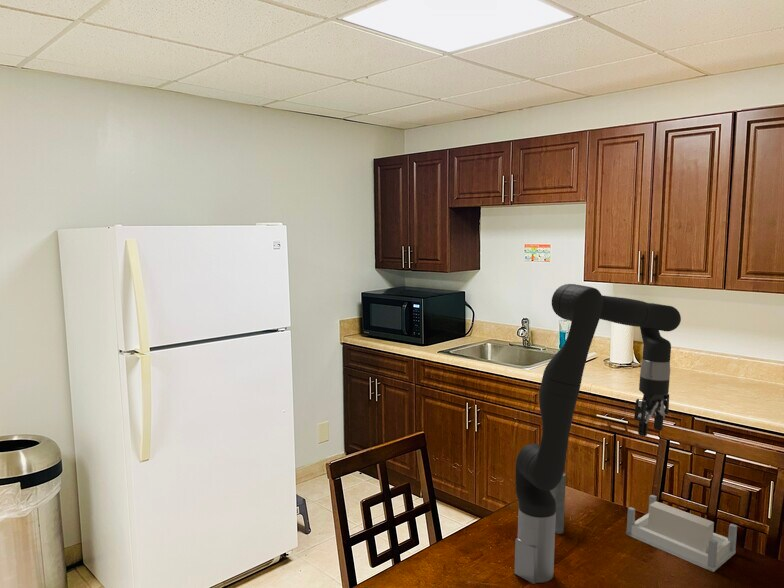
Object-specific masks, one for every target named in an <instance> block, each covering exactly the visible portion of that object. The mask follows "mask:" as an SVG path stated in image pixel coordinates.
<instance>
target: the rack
mask: <svg viewBox="0 0 784 588" xmlns="http://www.w3.org/2000/svg"><path fill="white" fill-rule="evenodd" d="M657 497H658V496H657V495H654V494H651V495H649V496H648V506H649V505H651V504H652V503H654V502H655V501H657ZM626 516H627V520H626V531H625V534H626V536H628V537H631V538H633V539H635V540H638V541H640V542H641V543H644V544H647V545H649V546H652V547H653V548H656V549H659V550H661V551H663V552H666V553H668V554H670V555H673V556H675V557H677V558H680V559H681V560H684V561H686V562H689V563H691V564H694V565H696V566H698V567H701V568H703V569H705V570H708V571H710V572H711V573H714V572H716V570H718V569H719V568H721V567H722V565H724V564H725V563H726V562H727V561H728V560H729V559H731V558H732V557H733V556H734V555H735V554H736V551H737V550H736V549H737V548H736V546H737V533H738V532H737V531H738V525H736V524H734V523H730V524H729V525H728V536H724V535H722V534H718V533H716V532H713V539H710V540H709V549H708V554H707V553H705V552H702V551H700V550H697V549H695V548H693V547H690V546H688V545H685V544H683V543H680V542H678V541H676V540H673V539H671V538H668V537H666V536H663V535H661V534H659V533H656V532H654V531H651V530H649V529H648V521H649V511H648V512H647V513H646V514H644V515H642V517H639V518H638V519H637V520H636V508H634V507H631V506H630V507H628V508H627V515H626Z"/></svg>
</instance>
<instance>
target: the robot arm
mask: <svg viewBox="0 0 784 588" xmlns="http://www.w3.org/2000/svg"><path fill="white" fill-rule="evenodd" d="M551 307H552V310H553V312H554V313H555V314H556V315H557V316H558V317H560V318H561V319H563V320H566V321H570V327H569V330H568V334H567V337H566V340H565V341H564V344H563V345H562V346H561V347H560V349H559V350H558V351H557V352H556V353H555V355H553V357H552V358H551V359H550V361H549V362H548V363H547V365H546V366H545V368H544V371H543V375H542V377H541V383H540V386H539V387H540V388H539V392H538V403H539V411H540V418H541V425H542V426H541V427H542V433H541V440H540V443H539V444H540V445H539V444H537V443H528V444H527V445H524V446H523V447H522V448H521V449H520V451H519V452H518V454H517V456H516V461H515V472H514V473H515V495H516V498H517V501H518V512H517V513H518V515H517V516H518V517H517V537H516V538H515V541H514V543H515V544H514V545H515V546H514V574H515V575H517V576H518V577H519V578H522V579H523V580H526V581H527V582H529V583H531V584H532V585H535V584H538V583H539V584H540V583H542V584H543V583H547V582H550V580H552V579H553V578H554V568H555V567H554V566H555V544H556V541H555V540H556V533H555V521H556V501H555V498H554V497H553V495H552V493H551V491H550V490H553V489H554V488H555V487H556V486H557V485H558V484H559V483H560V481H561V479H562V476H563V473H565V468H566V462H567V460H566V459H567V451H568V442H569V438H570V431H571V427H572V422H573V417H574V412H575V408H576V405H577V402H578V397H579V393H580V391H581V390H580V388H581V384H582V379H583V375H584V370H585V366H586V364H587V358H588V355H589V351H590V347H591V345H592V341H593V338H594V336H595V333H596V329H597V327H598V324H599V322H600V320H603V321H607V322H611V323H614V324H619V325H623V326H624V325H625V326H630V327H636V328H639V329H640V334H641V335H640V336H641V339H642V344H643V346H642V357H641V358H642V359H641V362H640V363H641V364H640V370H639V371H640V373H639V383H638V384H639V385H638V390H639V391H640V393H642V394H643V397H642V399H639V398H636V400H635V407H634V408H635V409H634V417H633V419H634V421H636V422H638V429H637V434H638V435H639V436H642V437H646V436H648V429H649V428H648V427H649V426H648V425H649V424H648V422H649V421H650V418H652V417H653V416H654V417H653V420H654V421H653V429H654V430H657V431H660V432H661V431H662V430H663V427H664V418H666V417H665V416H666V415H668V414H669V410H670V409H669V407H670V394H669V391H670V390H669V389H670V378H671V377H670V376H671V353H672V344H671V342H670V340H668V339H666V338H664V337H663V336H661V333H660V331H662V332H673V331H675V330H676V329H677V328H678V327H679V325H680V324H681V323H682V322H681V320H682V316H681V313H680V312H679V310H678V309H677V308H676V307H675V306H672V305H665V304H660V303H655V302H654V303H653V302H651V303H650V302H646V301H643V300H639V299H633V298H626V297H617V296H611V295H602V293H601V291H599V289H598V288H596V287H593V286H587V285H581V284H575V283H566V284H563V285H560V286H558V288H556V290H555V291H554V293H553V295H552V296H551Z"/></svg>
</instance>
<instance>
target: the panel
mask: <svg viewBox="0 0 784 588" xmlns="http://www.w3.org/2000/svg"><path fill="white" fill-rule="evenodd" d="M648 512H649V521H648V529H649V530H651V531H654V532H656V533H659V534H661V535H663V536H666V537H668V538H671V539H673V540H676V541H678V542H680V543H683V544H685V545H688V546H690V547H693V548H695V549H697V550H700V551H702V552H705V553H707V554H708V549H709V540H710V539H713V533H714V528H715V527H714V526H715V522H714V521H712V520H709V519H707V518H703V517H701V516H698V515H695V514H692V513H690V512H688V511H687V512H686V511H684V510H681V509H678V508H676V507H673V506H670V505H668V504H665V503H662V502H659V501H657V500H656V501H655V502H654V503H652V504H651V505H649V504H648Z"/></svg>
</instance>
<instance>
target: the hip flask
mask: <svg viewBox="0 0 784 588" xmlns="http://www.w3.org/2000/svg"><path fill="white" fill-rule="evenodd" d="M566 479H567V477H566V472H564V473H563V476H562V479H561V481H560V483H559V484H558V485H557V486H556V487H555V488H554V489H553V490H550V491H551V493H552V495H553V497H554V498H555V501H556V521H555V534H557V535H559V534H560V535H561V534H564V532H565V531H564V530H565V529H564V528H565V527H564V526H565V510H566V509H565V505H566V504H565V503H566V502H565V501H566V485H567V484H566Z"/></svg>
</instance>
